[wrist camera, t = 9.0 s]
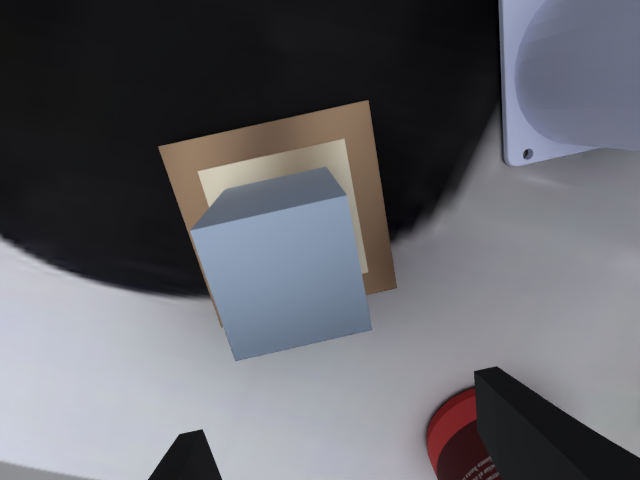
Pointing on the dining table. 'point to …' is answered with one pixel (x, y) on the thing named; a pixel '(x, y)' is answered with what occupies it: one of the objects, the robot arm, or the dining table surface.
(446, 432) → the canned food
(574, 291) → the dining table surface
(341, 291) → the block
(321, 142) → the plinth
